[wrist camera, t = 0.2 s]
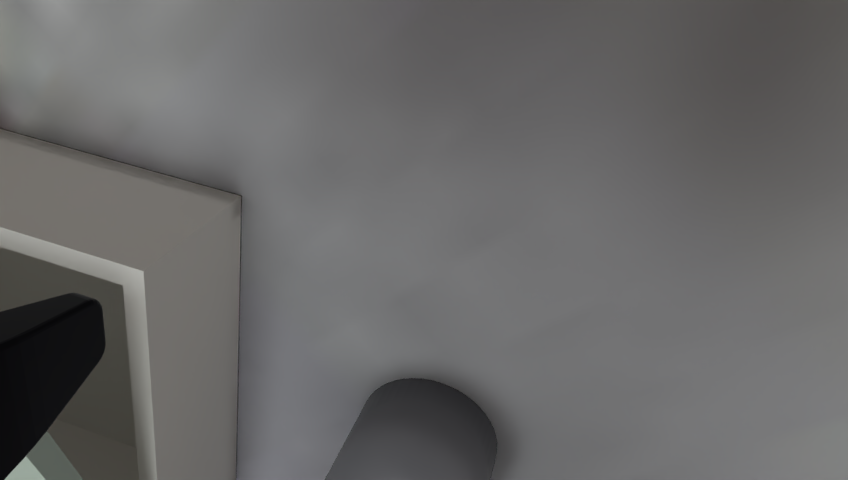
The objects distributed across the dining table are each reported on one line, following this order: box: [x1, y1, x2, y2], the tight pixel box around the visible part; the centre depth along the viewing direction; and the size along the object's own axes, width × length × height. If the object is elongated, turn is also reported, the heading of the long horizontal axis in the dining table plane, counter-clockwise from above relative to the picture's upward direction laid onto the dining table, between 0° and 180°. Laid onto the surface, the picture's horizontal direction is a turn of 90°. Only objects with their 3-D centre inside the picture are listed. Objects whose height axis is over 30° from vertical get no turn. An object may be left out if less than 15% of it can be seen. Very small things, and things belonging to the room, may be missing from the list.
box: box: [0, 129, 241, 480], centre depth 29 cm, size 16×16×6 cm
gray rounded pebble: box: [325, 378, 497, 480], centre depth 27 cm, size 6×6×4 cm
